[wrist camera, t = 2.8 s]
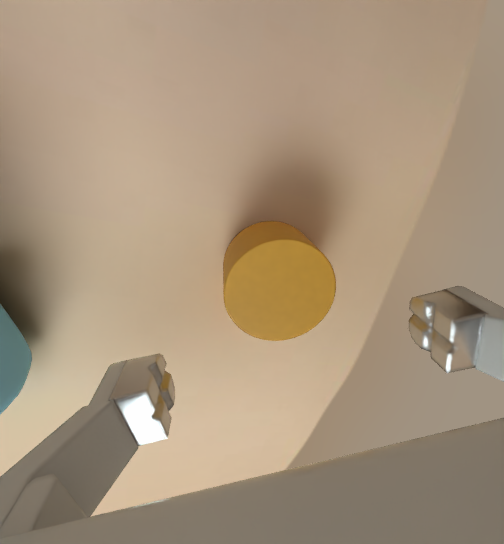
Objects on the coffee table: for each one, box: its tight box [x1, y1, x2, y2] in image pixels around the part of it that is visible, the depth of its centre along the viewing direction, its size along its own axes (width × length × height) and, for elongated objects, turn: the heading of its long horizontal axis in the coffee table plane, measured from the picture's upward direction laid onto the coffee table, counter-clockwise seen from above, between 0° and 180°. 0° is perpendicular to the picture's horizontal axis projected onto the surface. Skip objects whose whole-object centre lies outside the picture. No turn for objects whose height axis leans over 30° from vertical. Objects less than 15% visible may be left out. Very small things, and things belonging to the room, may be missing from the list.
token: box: [223, 221, 336, 341], centre depth 14 cm, size 5×5×3 cm
